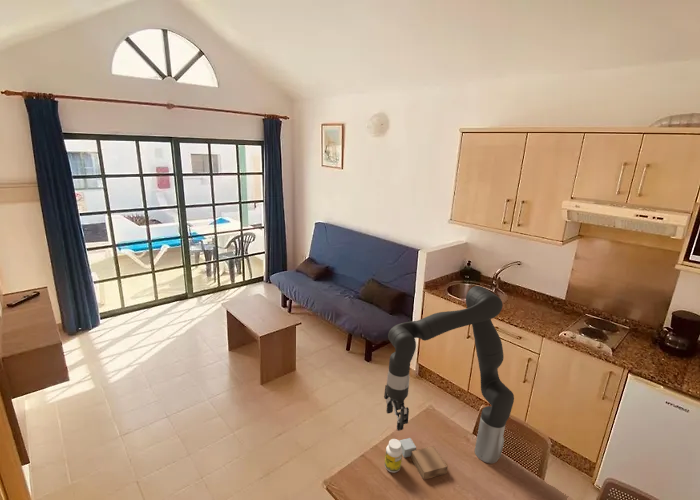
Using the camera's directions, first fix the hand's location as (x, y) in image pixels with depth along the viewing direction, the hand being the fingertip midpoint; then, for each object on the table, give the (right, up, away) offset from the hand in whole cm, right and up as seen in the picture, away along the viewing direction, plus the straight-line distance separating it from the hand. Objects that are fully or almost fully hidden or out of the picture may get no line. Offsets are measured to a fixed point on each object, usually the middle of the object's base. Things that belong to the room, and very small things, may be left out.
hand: (394, 420), depth 129 cm
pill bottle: (+1, -23, +12) cm, 26 cm away
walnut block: (+15, -23, +13) cm, 30 cm away
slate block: (+7, -21, +19) cm, 29 cm away
